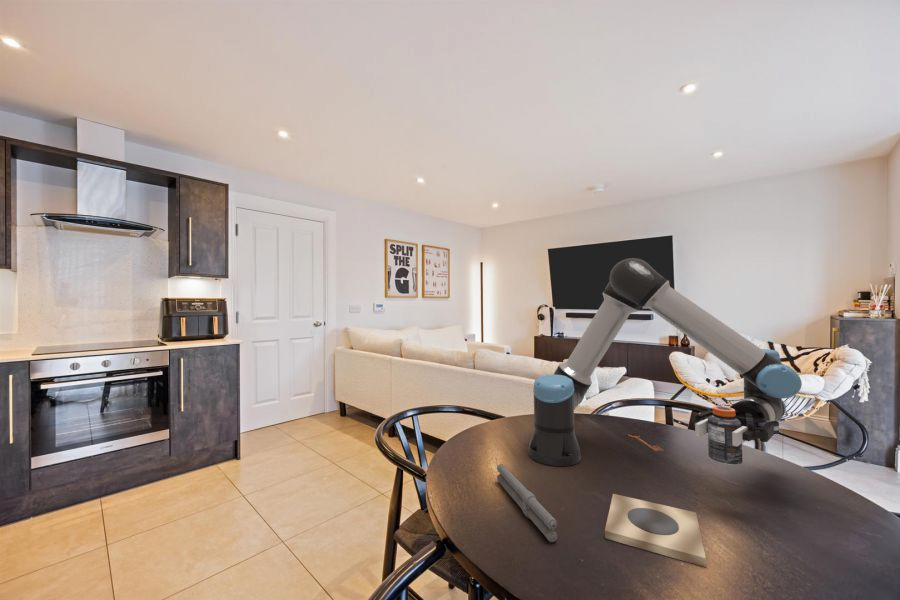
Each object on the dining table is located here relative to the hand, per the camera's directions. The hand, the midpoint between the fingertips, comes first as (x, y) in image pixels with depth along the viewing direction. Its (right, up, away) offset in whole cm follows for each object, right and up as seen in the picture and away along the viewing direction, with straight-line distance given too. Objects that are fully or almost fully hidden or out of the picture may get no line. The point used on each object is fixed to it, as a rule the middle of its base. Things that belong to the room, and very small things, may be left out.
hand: (715, 434), depth 76 cm
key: (+9, -19, +44) cm, 49 cm away
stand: (-15, -18, -3) cm, 24 cm away
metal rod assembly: (-40, -18, +4) cm, 44 cm away
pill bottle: (+4, -7, +3) cm, 8 cm away
